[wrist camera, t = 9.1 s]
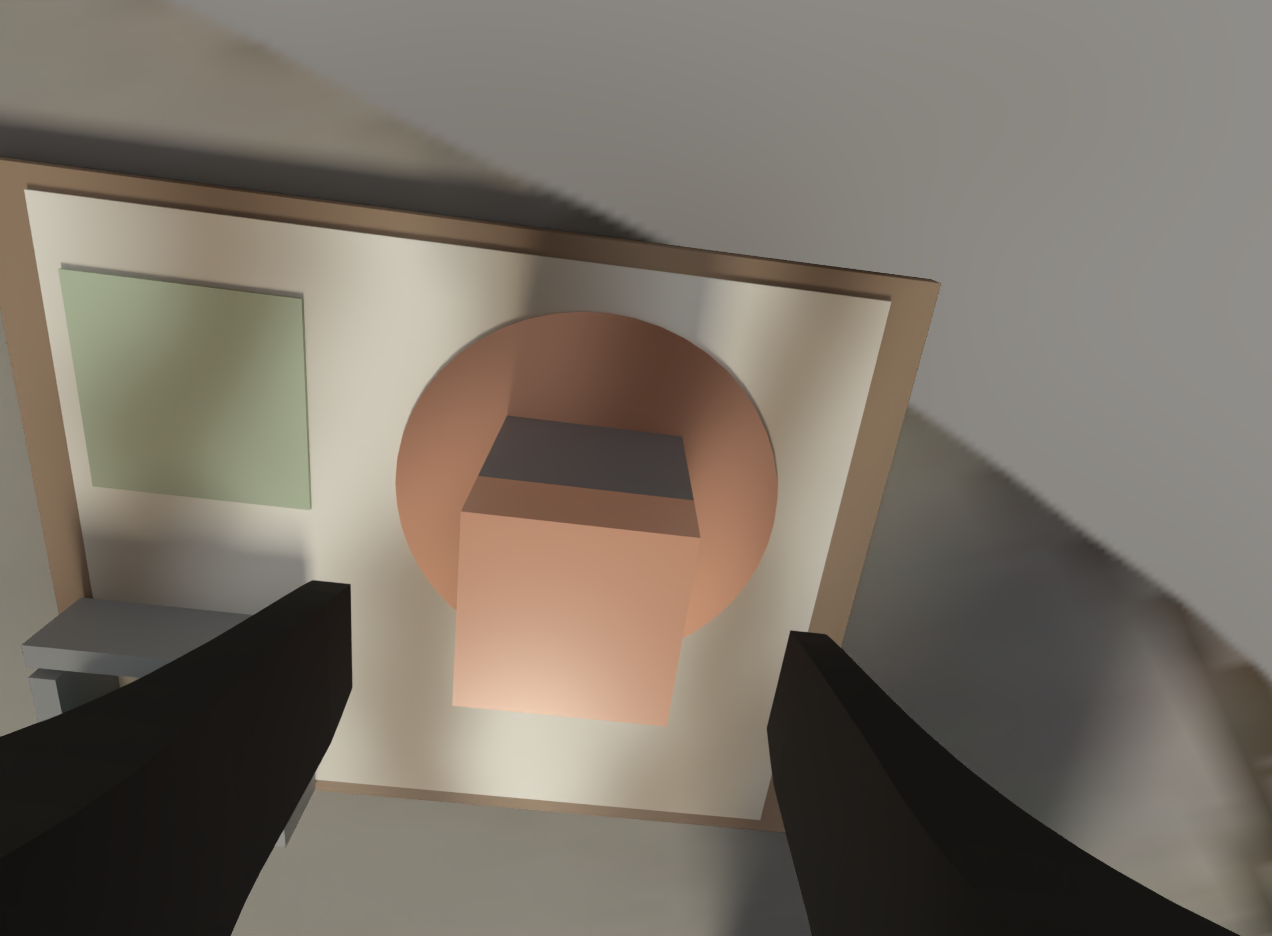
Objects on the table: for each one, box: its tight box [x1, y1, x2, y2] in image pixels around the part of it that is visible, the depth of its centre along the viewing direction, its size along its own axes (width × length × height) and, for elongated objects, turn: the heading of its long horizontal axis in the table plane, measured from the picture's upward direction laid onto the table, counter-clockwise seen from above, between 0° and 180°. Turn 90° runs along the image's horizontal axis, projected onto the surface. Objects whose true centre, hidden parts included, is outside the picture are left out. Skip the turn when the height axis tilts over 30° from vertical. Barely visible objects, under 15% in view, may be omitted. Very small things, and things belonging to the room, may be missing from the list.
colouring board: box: [0, 157, 941, 833], centre depth 19 cm, size 20×16×1 cm
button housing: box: [21, 598, 315, 848], centre depth 19 cm, size 6×6×2 cm
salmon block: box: [452, 416, 701, 727], centre depth 16 cm, size 4×4×5 cm
